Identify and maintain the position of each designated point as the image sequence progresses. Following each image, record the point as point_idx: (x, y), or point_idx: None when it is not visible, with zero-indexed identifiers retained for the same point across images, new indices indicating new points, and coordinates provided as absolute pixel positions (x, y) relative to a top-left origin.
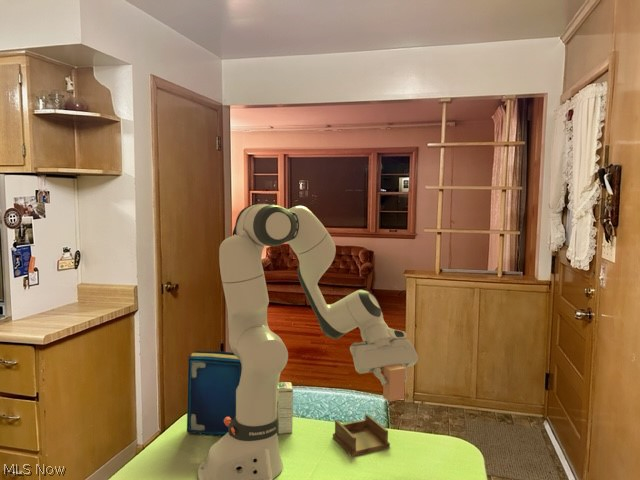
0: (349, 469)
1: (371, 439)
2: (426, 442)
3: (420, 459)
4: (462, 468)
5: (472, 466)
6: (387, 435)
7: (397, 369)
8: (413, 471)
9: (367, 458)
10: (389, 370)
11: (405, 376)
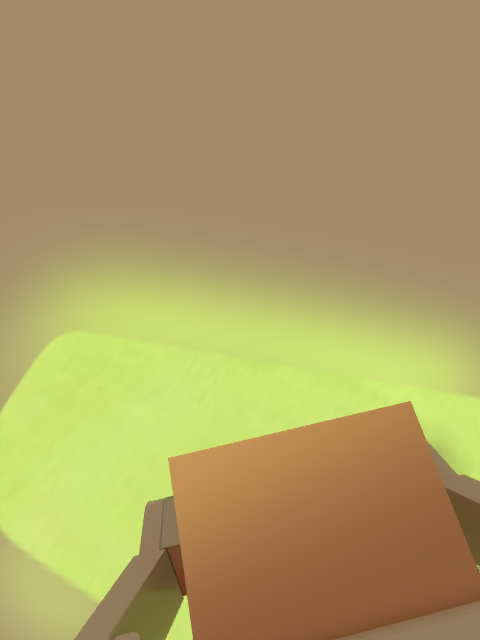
0: (437, 418)
1: None
2: (106, 549)
3: (187, 433)
4: (89, 362)
5: (54, 366)
6: None
7: (295, 428)
8: (239, 372)
9: None
10: (414, 422)
11: (160, 517)
